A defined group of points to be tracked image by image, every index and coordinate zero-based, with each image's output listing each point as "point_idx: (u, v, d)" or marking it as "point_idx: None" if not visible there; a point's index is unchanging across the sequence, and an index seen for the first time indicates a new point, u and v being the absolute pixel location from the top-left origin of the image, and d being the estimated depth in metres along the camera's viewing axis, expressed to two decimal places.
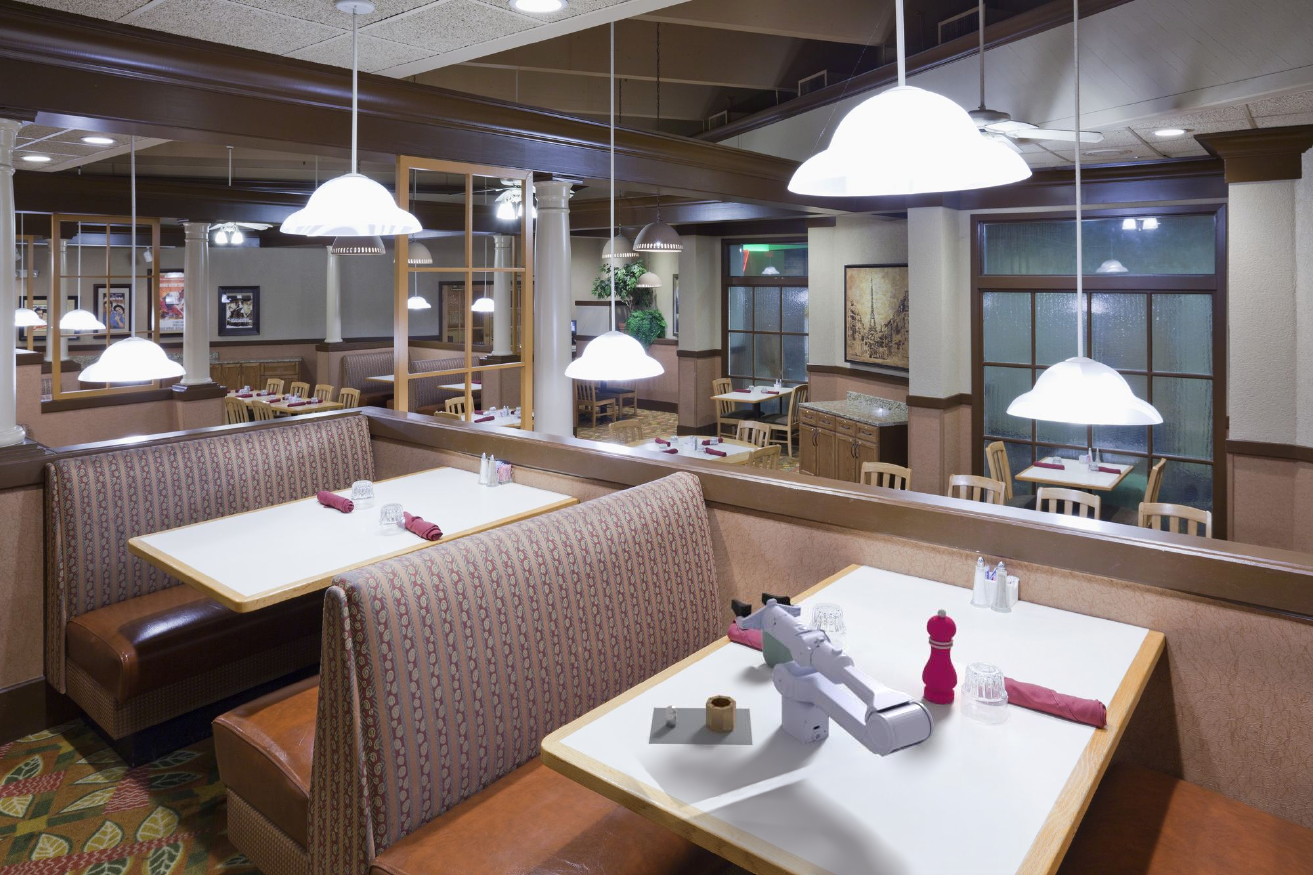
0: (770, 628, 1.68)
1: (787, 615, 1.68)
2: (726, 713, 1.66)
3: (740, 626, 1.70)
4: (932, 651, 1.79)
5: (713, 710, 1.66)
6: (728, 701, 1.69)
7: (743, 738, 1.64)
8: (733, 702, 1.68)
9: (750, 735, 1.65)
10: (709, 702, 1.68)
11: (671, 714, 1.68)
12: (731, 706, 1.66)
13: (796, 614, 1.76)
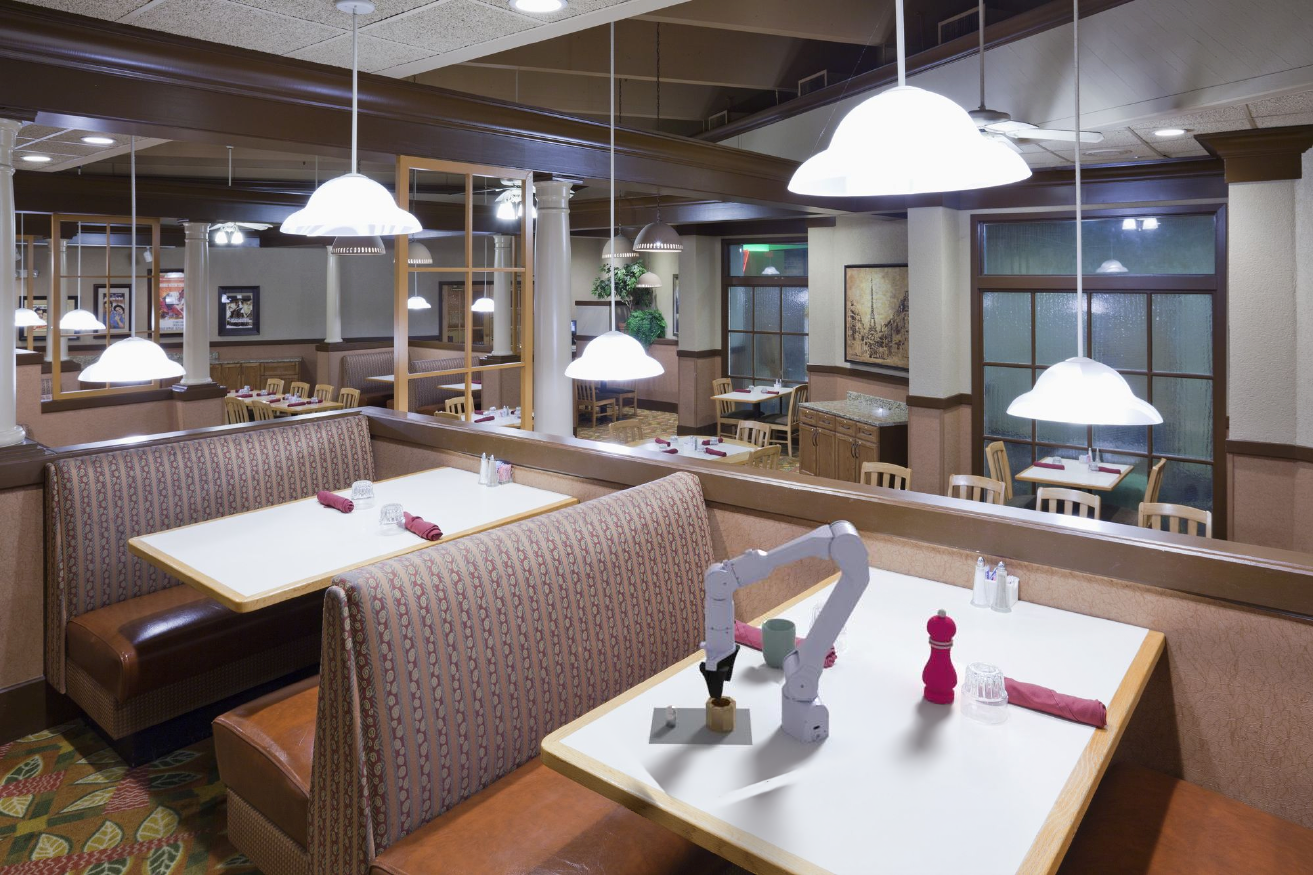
0: (716, 633, 1.63)
1: None
2: (726, 713, 1.66)
3: (713, 663, 1.59)
4: (932, 651, 1.79)
5: (713, 710, 1.66)
6: (728, 701, 1.69)
7: (743, 738, 1.64)
8: (733, 702, 1.68)
9: (750, 735, 1.65)
10: (709, 702, 1.68)
11: (671, 714, 1.68)
12: (731, 706, 1.66)
13: None
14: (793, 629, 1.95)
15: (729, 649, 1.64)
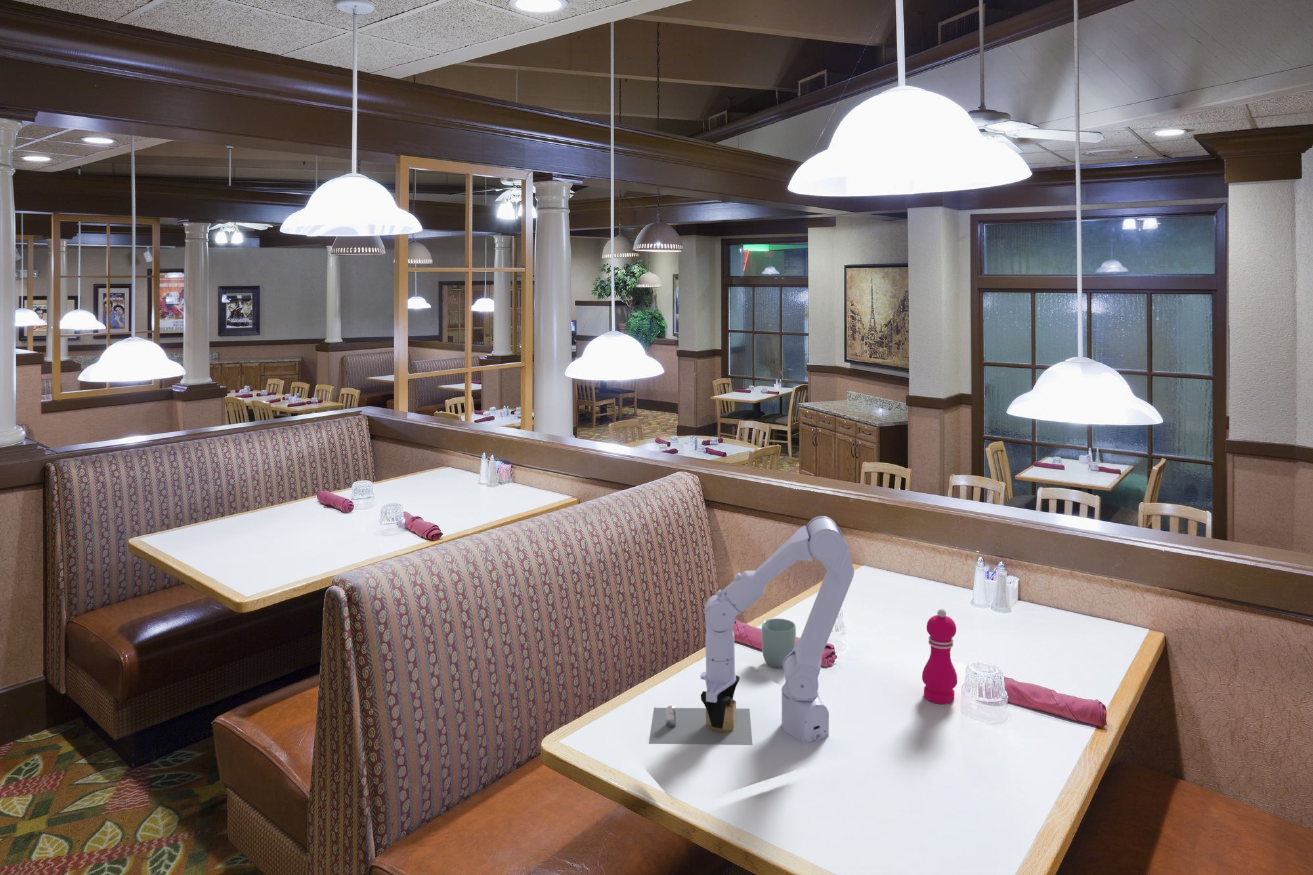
0: (716, 664, 1.64)
1: None
2: (726, 713, 1.66)
3: (713, 695, 1.60)
4: (932, 651, 1.79)
5: None
6: (728, 701, 1.69)
7: (743, 738, 1.64)
8: (733, 702, 1.68)
9: (750, 735, 1.65)
10: None
11: (671, 714, 1.68)
12: (731, 706, 1.66)
13: None
14: (793, 629, 1.95)
15: (729, 680, 1.65)
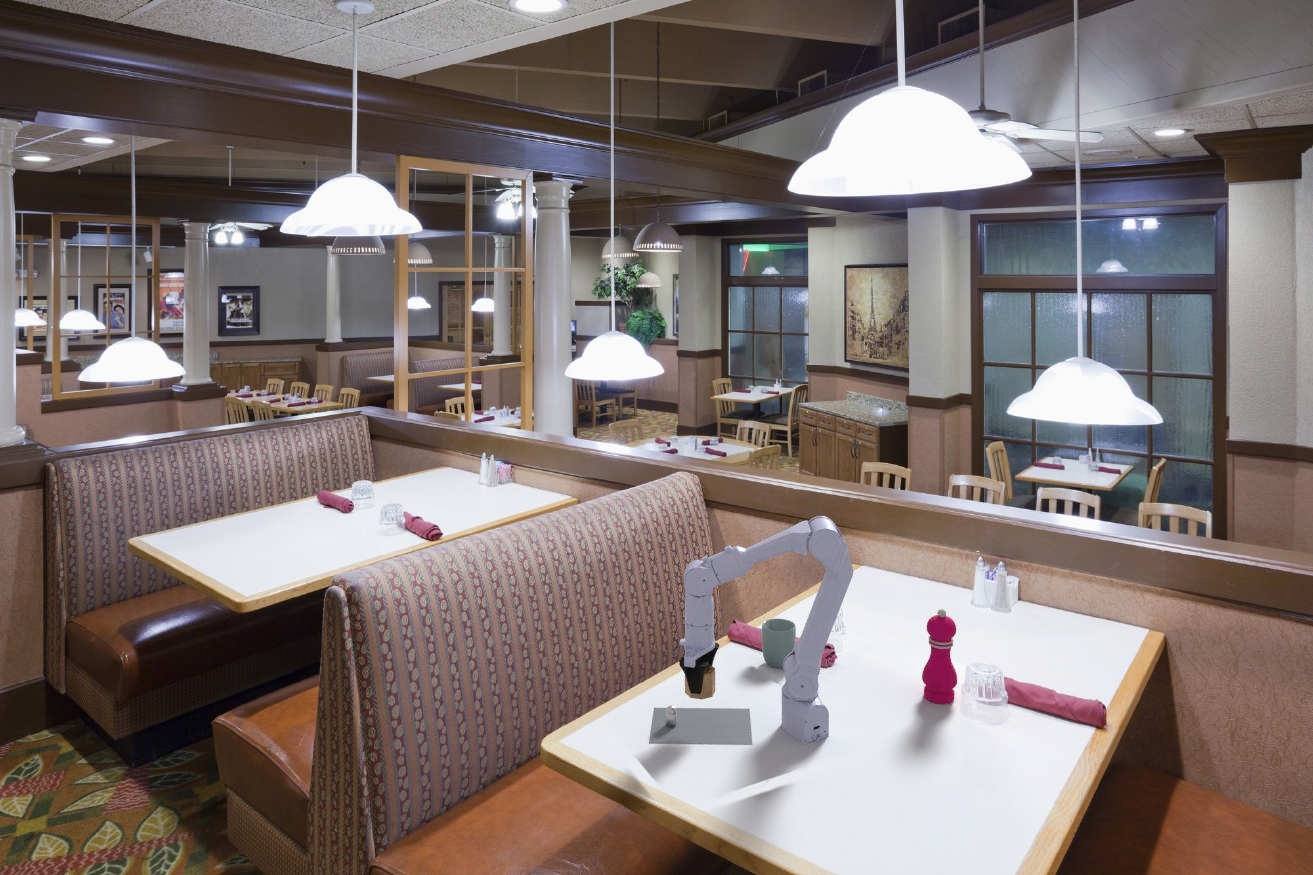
0: (695, 630, 1.63)
1: None
2: (705, 679, 1.65)
3: (691, 660, 1.59)
4: (932, 651, 1.79)
5: None
6: (707, 668, 1.68)
7: (743, 738, 1.64)
8: (712, 669, 1.67)
9: (750, 735, 1.65)
10: None
11: (671, 714, 1.68)
12: (710, 672, 1.65)
13: None
14: (793, 629, 1.95)
15: (708, 646, 1.64)
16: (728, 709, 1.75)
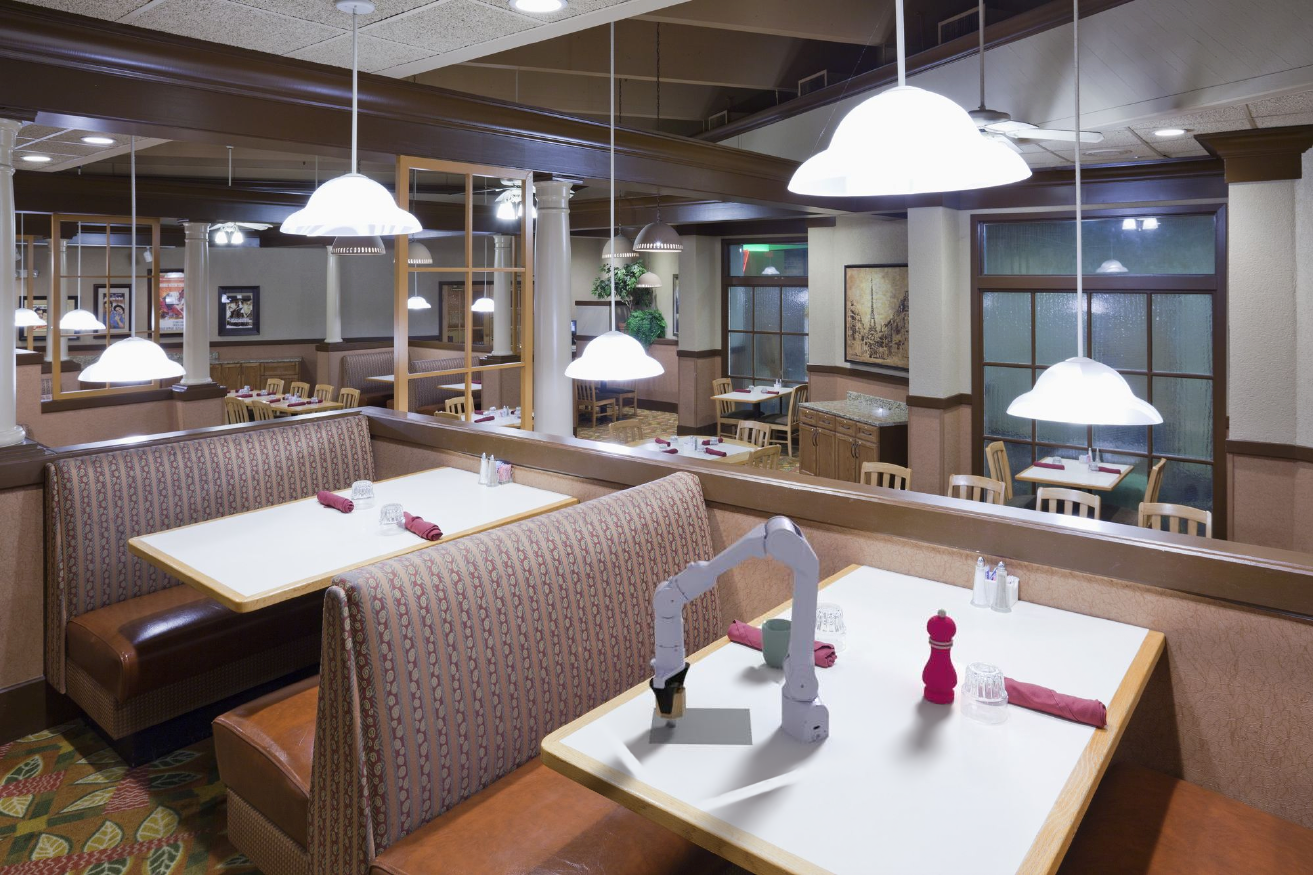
0: (665, 650, 1.64)
1: None
2: (675, 699, 1.66)
3: (660, 681, 1.60)
4: (932, 651, 1.79)
5: None
6: (678, 687, 1.69)
7: (743, 738, 1.64)
8: (683, 688, 1.68)
9: (750, 735, 1.65)
10: None
11: None
12: (680, 692, 1.67)
13: None
14: None
15: (678, 666, 1.65)
16: (728, 709, 1.75)
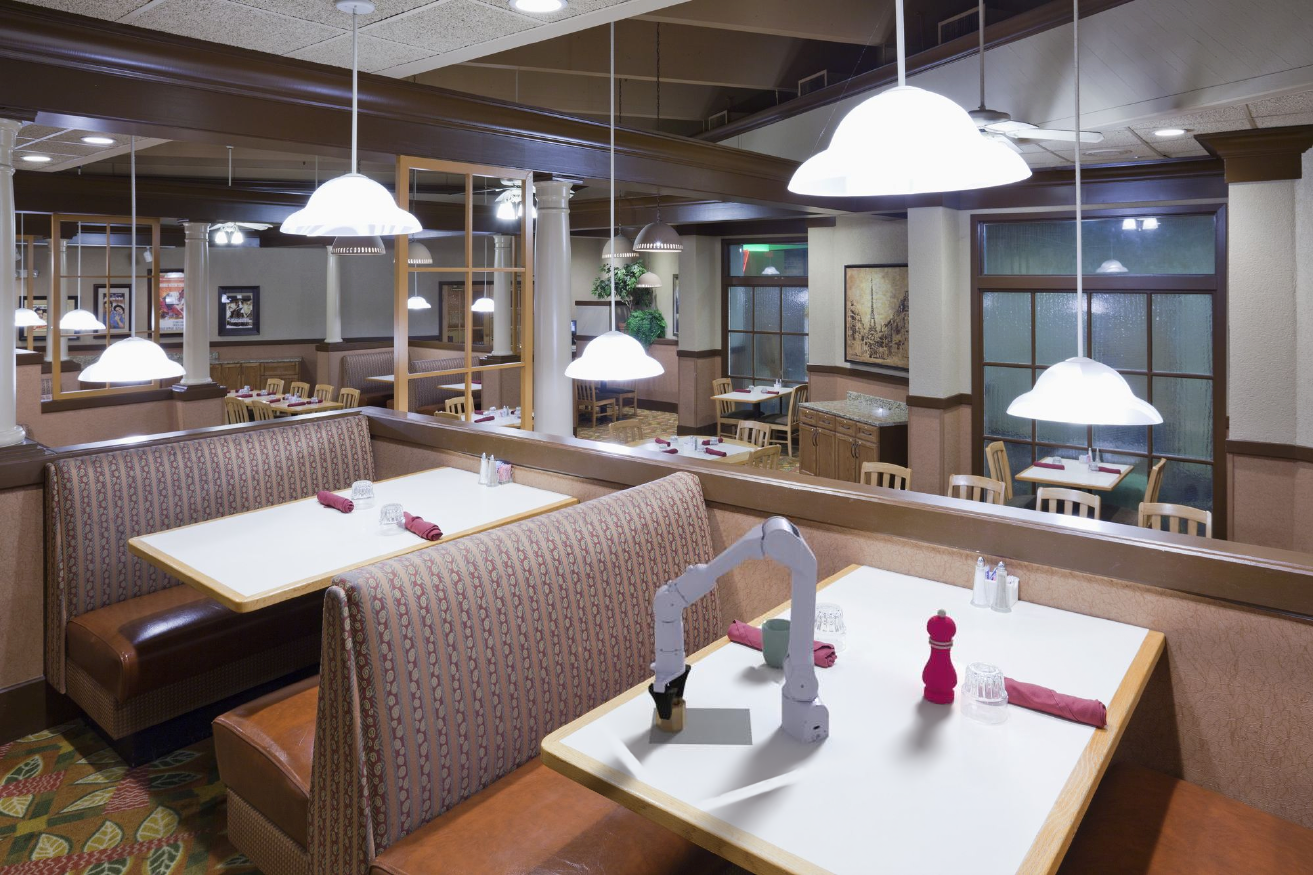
0: (665, 654, 1.64)
1: None
2: (675, 713, 1.66)
3: (661, 685, 1.61)
4: (932, 651, 1.79)
5: None
6: (678, 701, 1.70)
7: (743, 738, 1.64)
8: (683, 702, 1.68)
9: (750, 735, 1.65)
10: None
11: None
12: (680, 706, 1.67)
13: None
14: None
15: (678, 670, 1.65)
16: (728, 709, 1.75)
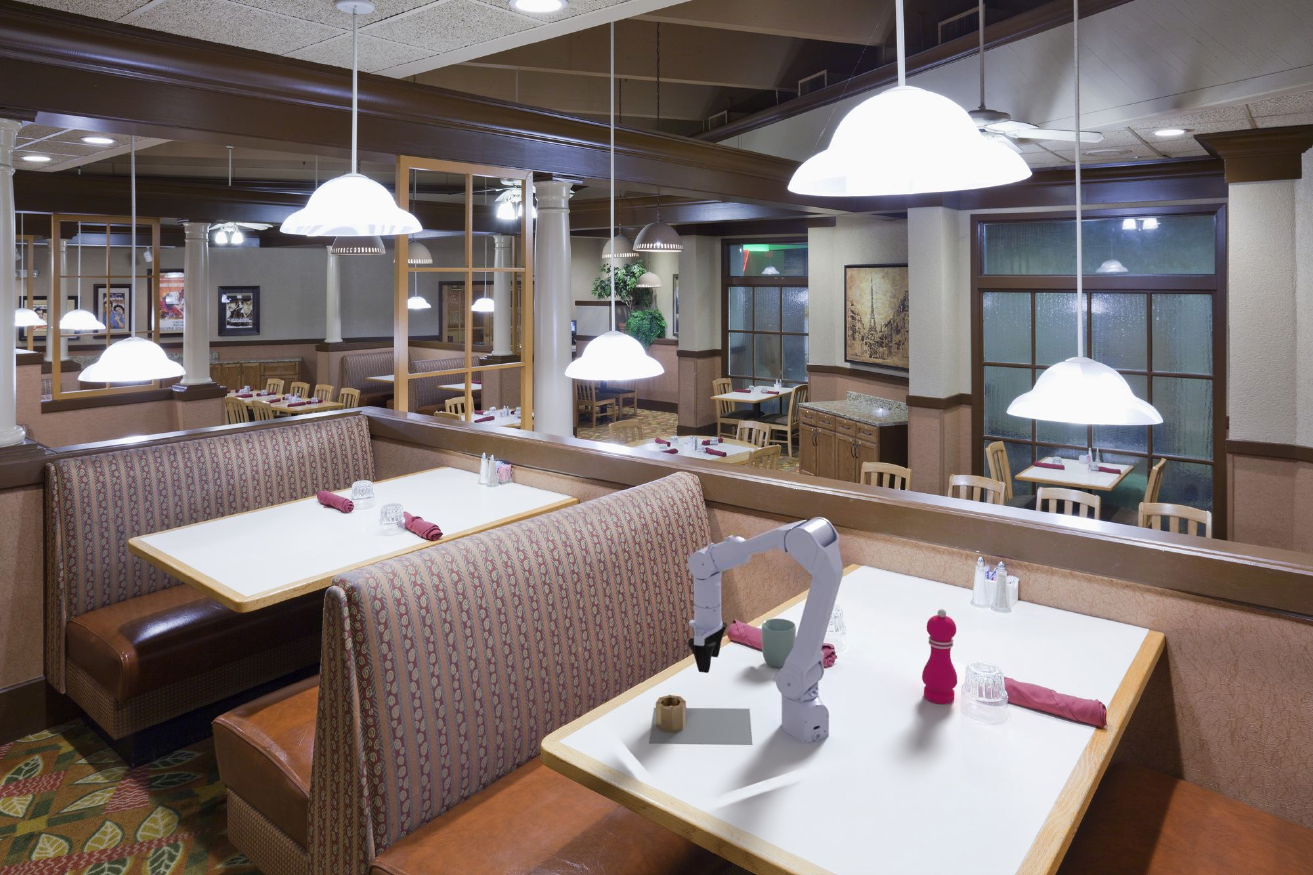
0: (704, 611, 1.74)
1: None
2: (675, 713, 1.66)
3: (701, 639, 1.70)
4: (932, 651, 1.79)
5: (662, 710, 1.66)
6: (678, 701, 1.70)
7: (743, 738, 1.64)
8: (683, 702, 1.68)
9: (750, 735, 1.65)
10: (659, 702, 1.69)
11: None
12: (680, 706, 1.67)
13: None
14: (793, 629, 1.95)
15: (716, 626, 1.75)
16: (728, 709, 1.75)
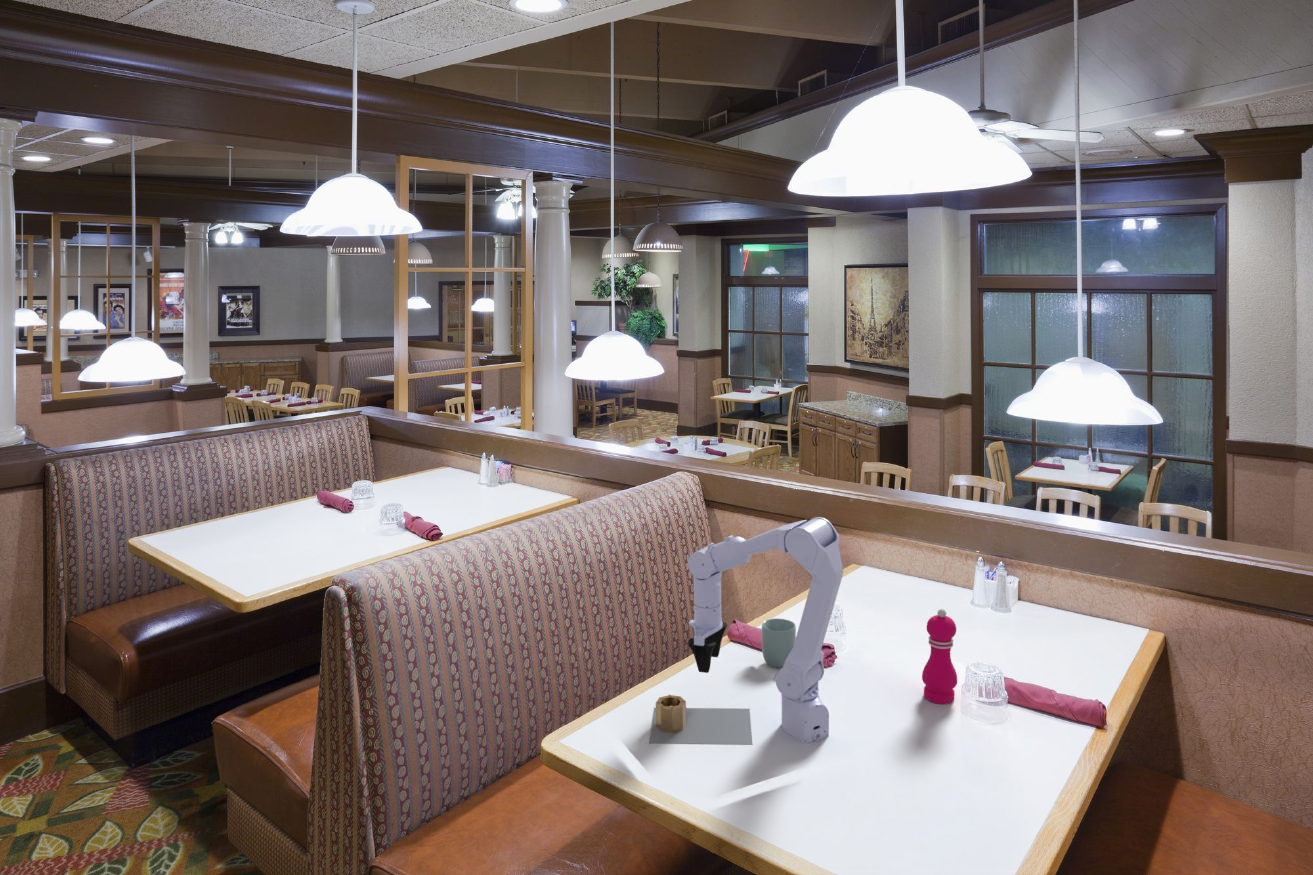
0: (704, 611, 1.74)
1: None
2: (675, 713, 1.66)
3: (701, 639, 1.70)
4: (932, 651, 1.79)
5: (662, 710, 1.66)
6: (678, 701, 1.70)
7: (743, 738, 1.64)
8: (683, 702, 1.68)
9: (750, 735, 1.65)
10: (659, 702, 1.69)
11: None
12: (680, 706, 1.67)
13: None
14: (793, 629, 1.95)
15: (716, 626, 1.75)
16: (728, 709, 1.75)
